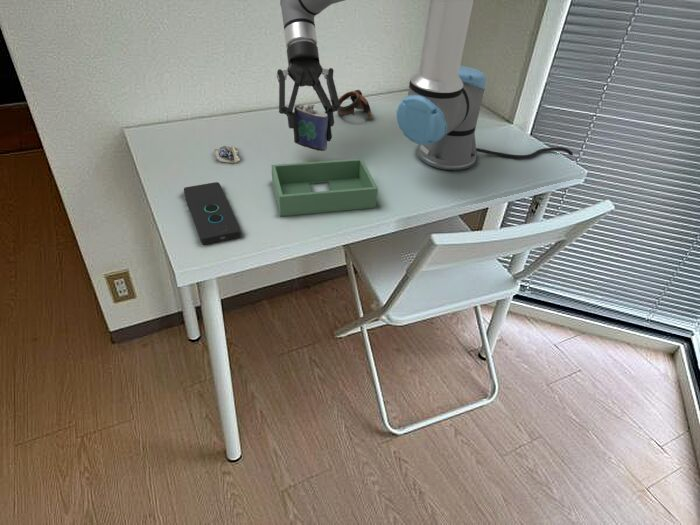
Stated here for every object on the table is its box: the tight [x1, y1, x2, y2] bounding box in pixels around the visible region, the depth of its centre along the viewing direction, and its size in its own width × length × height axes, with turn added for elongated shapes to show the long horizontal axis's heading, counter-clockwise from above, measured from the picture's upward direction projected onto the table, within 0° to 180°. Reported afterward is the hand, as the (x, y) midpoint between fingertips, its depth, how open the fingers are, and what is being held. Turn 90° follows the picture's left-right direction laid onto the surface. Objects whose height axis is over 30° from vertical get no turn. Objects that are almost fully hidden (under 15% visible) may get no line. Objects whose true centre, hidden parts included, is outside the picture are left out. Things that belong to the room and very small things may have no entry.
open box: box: [271, 158, 379, 217], centre depth 116 cm, size 22×14×5 cm, turn 104°
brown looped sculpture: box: [337, 89, 372, 121], centre depth 151 cm, size 12×10×8 cm
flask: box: [293, 102, 328, 152], centre depth 123 cm, size 9×3×11 cm, turn 60°
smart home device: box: [183, 181, 242, 246], centre depth 109 cm, size 8×2×20 cm
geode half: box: [213, 145, 241, 164], centre depth 129 cm, size 7×8×2 cm
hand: (313, 140), depth 122 cm, fingers closed on flask, 7 cm apart
